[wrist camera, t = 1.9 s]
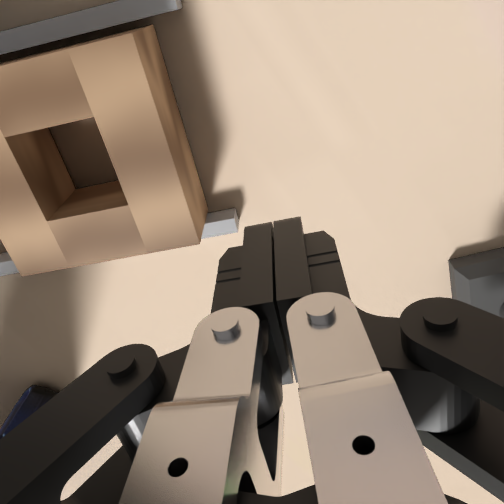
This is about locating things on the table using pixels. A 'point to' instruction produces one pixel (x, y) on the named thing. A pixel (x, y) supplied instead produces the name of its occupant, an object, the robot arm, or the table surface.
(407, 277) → the table surface
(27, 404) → the book
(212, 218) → the backstop
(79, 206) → the socket block
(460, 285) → the faucet
